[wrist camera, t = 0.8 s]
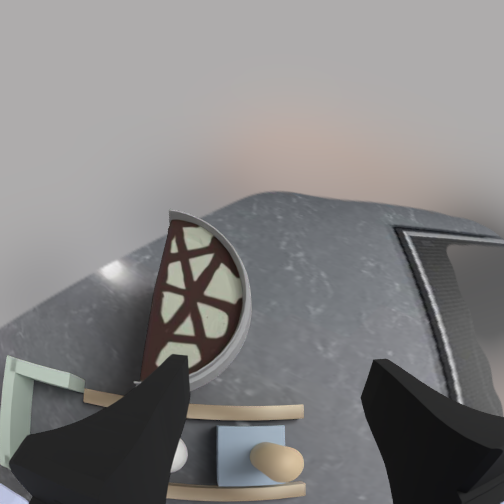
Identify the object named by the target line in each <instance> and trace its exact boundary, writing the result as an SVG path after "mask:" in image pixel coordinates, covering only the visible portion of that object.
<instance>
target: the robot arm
mask: <svg viewBox="0 0 504 504" xmlns="http://www.w3.org/2000/svg"><path fill="white" fill-rule="evenodd" d="M361 400H362V405H363V409H364V413H365V416H366V419H367V422H368V424H369V426H370V429H371V431H372V434H373V436H374V438H375V441H376V443H377V446H378V448H379V450H380V453H381V455H382V458H383V461H384V463H385V467H386V471H387V475H388V479H389V483H390V488H391V493H392V498H393V504H504V417H500V416H495V415H491V414H487V413H484V412H481V411H478V410H475V409H472V408H469V407H467V406H464V405H462V404H460V403H458V402H456V401H453V400H451V399H449V398H447V397H446V396H444V395H442V394H440V393H439V392H437V391H435V390H433V389H432V388H430V387H429V386H427V385H426V384H424V383H422V382H421V381H419V380H418V379H416V378H415V377H414V376H412V375H411V374H409V373H408V372H406V371H405V370H403V369H402V368H400V367H399V366H398V365H396V364H394V363H393V362H391V361H390V360H388V359H376V360H373V363H372V366H371V369H370V372H369V375H368V378H367V381H366V384H365V387H364V390H363V393H362V395H361ZM189 401H190V382H189V366H188V356H187V355H178V354H171V355H170V356H169V357H168V358H167V359H166V360H165V361H164V362H163V363H162V364H161V365H160V366H159V367H158V368H157V369H156V370H155V371H154V372H152V373H151V374H150V375H149V376H148V377H147V378H146V379H145V380H144V381H142V382H141V383H140V384H139V385H138V386H136V387H135V388H134V389H133V390H131V391H130V392H129V393H128V394H126V395H125V396H124V397H122V398H121V399H119V400H118V401H116V402H115V403H113V404H112V405H110V406H108V407H107V408H105V409H103V410H101V411H99V412H97V413H95V414H93V415H91V416H89V417H87V418H85V419H83V420H80V421H78V422H75V423H72V424H70V425H67V426H64V427H61V428H57V429H54V430H50V431H45V432H41V433H36V434H31V435H27V436H26V437H25V439H24V440H23V441H22V443H21V444H20V446H19V447H18V449H17V450H16V452H15V453H14V455H13V456H12V458H11V459H10V461H9V466H10V469H11V471H12V473H13V474H14V475H15V477H16V478H17V479H18V480H19V481H20V483H21V484H22V485H23V486H24V487H25V488H26V489H27V491H28V492H29V493H30V494H31V495H32V496H33V497H32V499H31V501H30V502H29V501H27V500H26V499H25V498H23V497H22V496H20V495H19V494H17V493H15V492H14V491H12V490H11V489H9V488H7V487H6V486H4V485H3V484H1V483H0V504H166V497H167V490H168V484H169V478H170V472H171V467H172V463H173V460H174V456H175V453H176V450H177V447H178V443H179V440H180V437H181V434H182V431H183V427H184V424H185V421H186V418H187V412H188V407H189Z"/></svg>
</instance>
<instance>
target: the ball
mask: <svg viewBox="0 0 504 504" xmlns="http://www.w3.org/2000/svg"><path fill="white" fill-rule="evenodd" d="M187 457H188V451H187V448H186V445H185V443H184V442H183V441H182V439H181V438H180V440H179V443H178V447H177V450H176V453H175V456H174V460H173V463H172V467H171V472H170V473H172V472H175V471H178V470H179V469H181V468H182V467H183V466H184V464H185V463H186V461H187Z"/></svg>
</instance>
